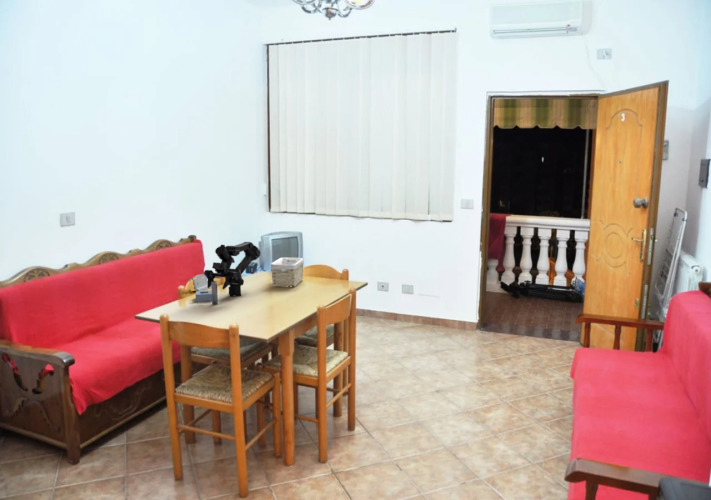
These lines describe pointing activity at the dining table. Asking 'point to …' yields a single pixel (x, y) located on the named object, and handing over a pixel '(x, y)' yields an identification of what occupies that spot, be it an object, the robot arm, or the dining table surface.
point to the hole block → (203, 296)
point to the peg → (214, 293)
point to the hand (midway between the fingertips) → (215, 288)
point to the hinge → (200, 283)
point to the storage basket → (287, 272)
